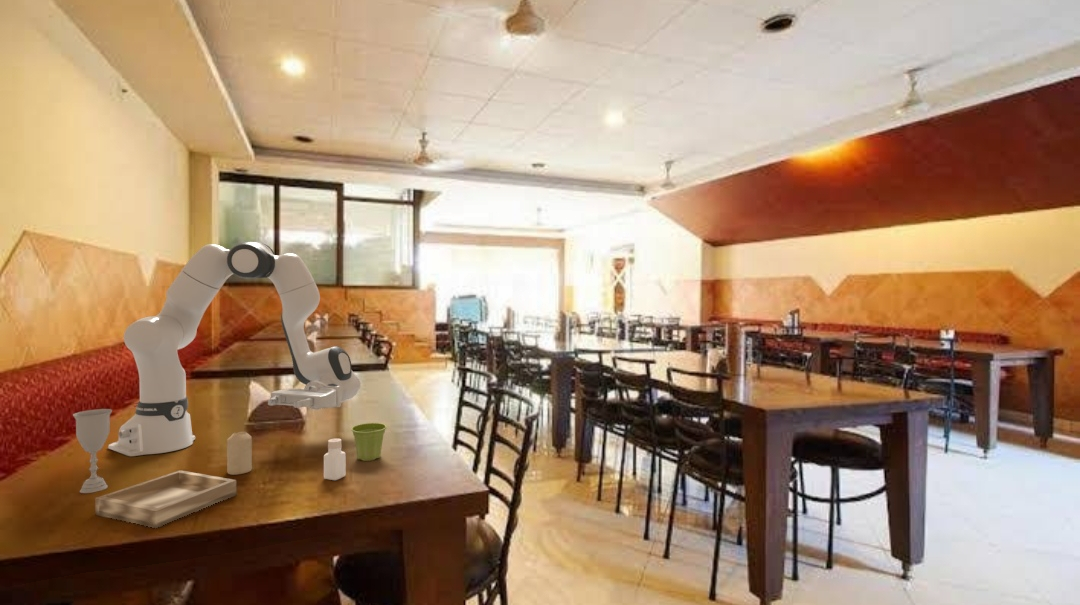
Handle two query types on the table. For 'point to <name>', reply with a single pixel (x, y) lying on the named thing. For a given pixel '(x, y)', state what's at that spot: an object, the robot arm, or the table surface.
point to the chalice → (93, 442)
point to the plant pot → (369, 440)
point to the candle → (239, 453)
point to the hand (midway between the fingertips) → (282, 403)
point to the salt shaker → (334, 460)
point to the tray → (165, 498)
